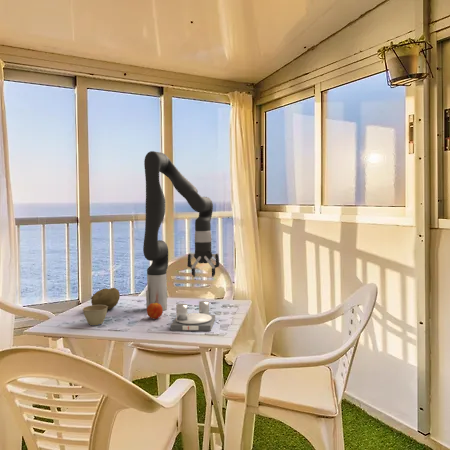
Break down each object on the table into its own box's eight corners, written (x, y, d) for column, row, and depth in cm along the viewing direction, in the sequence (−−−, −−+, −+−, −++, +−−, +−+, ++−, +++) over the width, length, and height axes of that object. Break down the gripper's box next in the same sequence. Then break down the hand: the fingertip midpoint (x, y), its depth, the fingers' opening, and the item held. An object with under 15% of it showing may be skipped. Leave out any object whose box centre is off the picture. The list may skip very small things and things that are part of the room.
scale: (170, 330, 164) (170, 323, 164) (178, 319, 180) (178, 312, 180) (210, 331, 162) (210, 324, 162) (215, 319, 179) (215, 313, 179)
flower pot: (82, 322, 177) (81, 306, 177) (106, 319, 181) (105, 303, 181) (84, 328, 168) (83, 311, 168) (109, 325, 172) (109, 308, 171)
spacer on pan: (175, 320, 167) (175, 306, 167) (177, 317, 172) (177, 303, 172) (186, 320, 167) (186, 306, 167) (188, 317, 171) (188, 303, 171)
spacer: (198, 316, 185) (198, 303, 185) (199, 313, 190) (199, 300, 189) (208, 316, 185) (208, 303, 185) (209, 313, 189) (209, 300, 189)
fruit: (149, 321, 178) (148, 303, 177) (145, 317, 184) (144, 300, 184) (164, 319, 181) (164, 301, 180) (160, 315, 187) (160, 298, 187)
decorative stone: (106, 315, 189) (105, 293, 189) (85, 313, 192) (84, 292, 192) (125, 306, 205) (124, 286, 205) (105, 305, 208) (104, 285, 208)
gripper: (186, 241, 183) (186, 277, 183) (217, 241, 181) (218, 278, 182) (188, 240, 190) (189, 275, 191) (219, 240, 189) (220, 275, 190)
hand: (203, 276), depth 187 cm, fingers open, 8 cm apart
